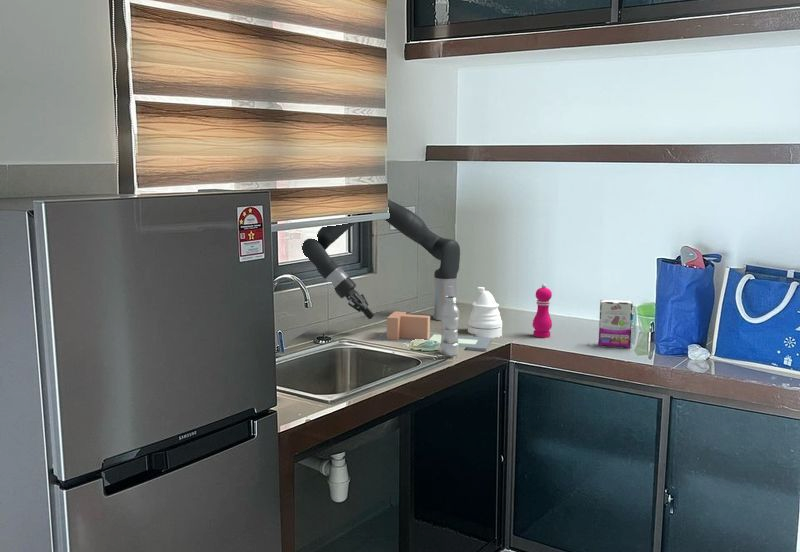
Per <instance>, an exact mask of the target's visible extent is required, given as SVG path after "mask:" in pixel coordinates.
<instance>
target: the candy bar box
mask: <svg viewBox="0 0 800 552" xmlns="http://www.w3.org/2000/svg"><path fill="white" fill-rule="evenodd" d="M632 320H633V301H632V300H620V299H619V300H617V299H616V300H615V299H614V300H612V299H600V301H599V322H598V325H599V326H598V347H603V348H621V349H631V343H632V342H631V341H632V325H633V321H632Z"/></svg>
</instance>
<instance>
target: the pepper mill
mask: <svg viewBox="0 0 800 552" xmlns="http://www.w3.org/2000/svg"><path fill="white" fill-rule="evenodd" d="M552 296H553V293H552V290H551V289H549V288H548V287H547V284H546V283H542V284H541V287H540V288H538V289H537V290H536V292H535V298H536V299H537V300H536V302H535V303H536V305H537V310H536V312H535V313H536V314H535V316H534V318H533V320H532V328H533V329H534V330H533V333H532V334H533V335H534V336H533V337H535V336H536V337H535V338H539V337H542V338H541V339H545V338H546V339H548V338H550V337H551V331H550V330H551V329H552V327H553V321H552V317H551V316H550V310H549V307H550V305H551V301H550V300H551V299H552ZM547 337H548V338H547Z"/></svg>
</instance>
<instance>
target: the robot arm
mask: <svg viewBox="0 0 800 552" xmlns="http://www.w3.org/2000/svg"><path fill="white" fill-rule="evenodd" d="M388 207H389V213H390V218H389V219H386V220H385V221H386V222H387V223H388V224H389V225H390V226H391V227H393V228H394V229H396V230H397V231H398V232H400V233H401V234H402V235H404V236H405V237H406V238H409V239H410V240H411V241H413V242H415V243H416V244H418V245H419V246H420V247H423V248H424V250H426V251H427V252H428V253H429V254H430V255H431V256H432V257H434V258H435V259H436V260H438V261H440V266H439V268H438V269H436V270H435V271H434V273H433V274H434V275H433V276H434V277H433V312H432V313H433V317H432V318H433V319H434V320H437V321H441V310H442V308H443V307H444V305H445V304H446V303H445V297H446V296H454V297H456V298H457V286H458V285H457V284H458V281H457V280H458V278H457V277H458V273H459V271H460V261H461V248H460V244H459V242H458V241H457V240H455V239H452V238H446V237H441V236H439V235H438V234H436V233H434V232H432V231H431V230H430V229H429V227H428V226H427V225H426V222H425V221H424V219H422V218H421V217H420V216H419V215H417V214H416V213H415V212H413V211H412V210H410V209H409V208H407V207H405V206H403V205H401V204H399V203H396V202H394V201H392V200H391V199H390V198H388ZM355 224H356V223H349V224H342V225H336V226H327V227H323V226H322V227H321V228H320V229H318V231H317V233H318V234H317V233H316V234H317V237H318V241H317V240H315V239H312V238H307V239H305V240H304V241H303V242H304V243H303V242H302V244H303V246H302V245H301V247H302V250H303V253H304V255H305V256H306V257H308V258H309V260H310V261H309V262H311V263H312V264H313V265H314V267H315V266H316V267H315V269H316V268H317V269H316V271H317V270H318V271H317V273H318V274H319V273H320V274H321V275H320V274H319V275H320V276H321V277H322V278H323V279H324V278H325V279H326V280H327V281H329V282H332V283H333V286H334V289H335V291H336V292H335V291H334V292H335V294H336V295H337V296H338V297H339V298H340V299H344V298H346V300H347V301H348V302H347V304H348V306H350V307H351V308H352V309H355V311H357V312H361V313H363V314H364V316H365V317H366V318H367V319H368V320H371V319H373V318H374V317H375V314H374V313H373V312H372V311H371V309H370V308H369V303H368V301H367V298H366V297H365V295H364V294H363V293H362V294H360V292H358V291H357V290H355V288H356V287H357V284H356V283H355V282H354V280H353V279H352V278H351V277H350V276H349V275H348V274H347V273H346V271H344V270H343V269H342V267H340V266H339V265H338V264H337V263H336V262H335V261H334V259H332V258H331V256H330V255H329V254H328V252H327V251H326V250H327V249H328V248H329V246H331V245H332V244H333V243H335V242H336V241H337V240H338V239H339V238H340V237H341V236H343V234H345V232H347V231H348V230H349V229H350V228H351V227H353V226H354V225H355ZM325 279H324V280H325ZM326 280H325V281H326ZM327 281H326V282H327ZM455 304H456V305H457V302H456V303H455Z"/></svg>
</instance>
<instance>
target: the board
mask: <svg viewBox="0 0 800 552" xmlns="http://www.w3.org/2000/svg"><path fill="white" fill-rule="evenodd" d="M441 336H442V333H430V338H429V339H428V340H434V341H437V342H439V343H441ZM473 336H474V335H473ZM473 336H470V335H458V344H459V348H464V351H476V352H487V351H488V350H489V347H490V346H491V344H490V343H492V342H493V338H487V337H473ZM412 340H415V339H409V338H400V339H398V340H387V329H386V330H385V331H384V332H382V333H381V334H380V335H378V336H377V337H376V338H375V339H374V341H377V342H378V341H381V342H392V343H406V344H411V343H410V342H411V341H412ZM438 346H440V344H439V345H438Z"/></svg>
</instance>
